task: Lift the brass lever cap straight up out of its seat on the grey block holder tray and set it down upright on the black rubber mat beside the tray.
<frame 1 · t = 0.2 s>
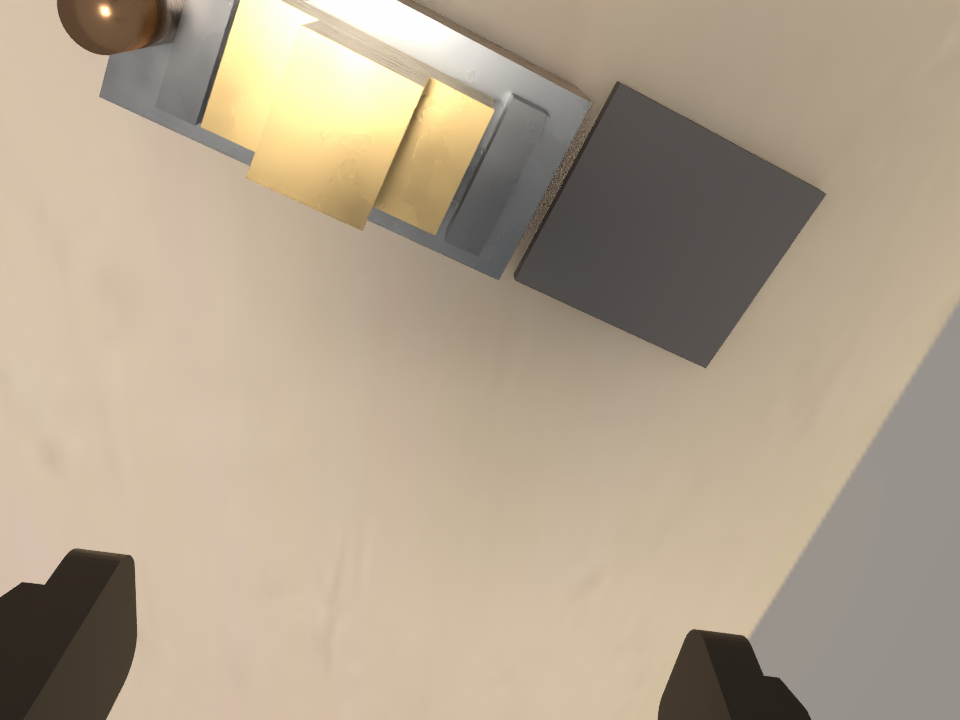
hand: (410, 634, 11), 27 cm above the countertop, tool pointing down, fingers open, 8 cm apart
grey block holder tray: (363, 84, 34), on the countertop
rubber mat: (662, 233, 37), on the countertop
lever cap: (358, 105, 29), point 5 cm above the countertop, touching grey block holder tray
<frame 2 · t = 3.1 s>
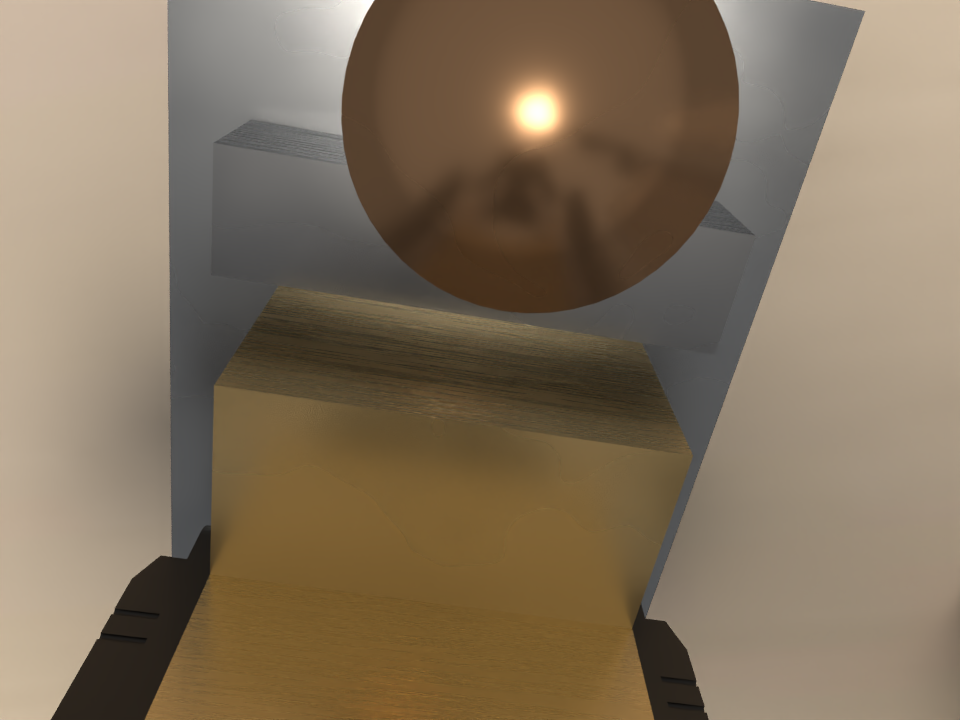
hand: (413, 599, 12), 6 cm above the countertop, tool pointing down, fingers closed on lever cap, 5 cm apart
grey block holder tray: (438, 387, 17), on the countertop
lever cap: (419, 559, 13), point 5 cm above the countertop, touching gripper, grey block holder tray
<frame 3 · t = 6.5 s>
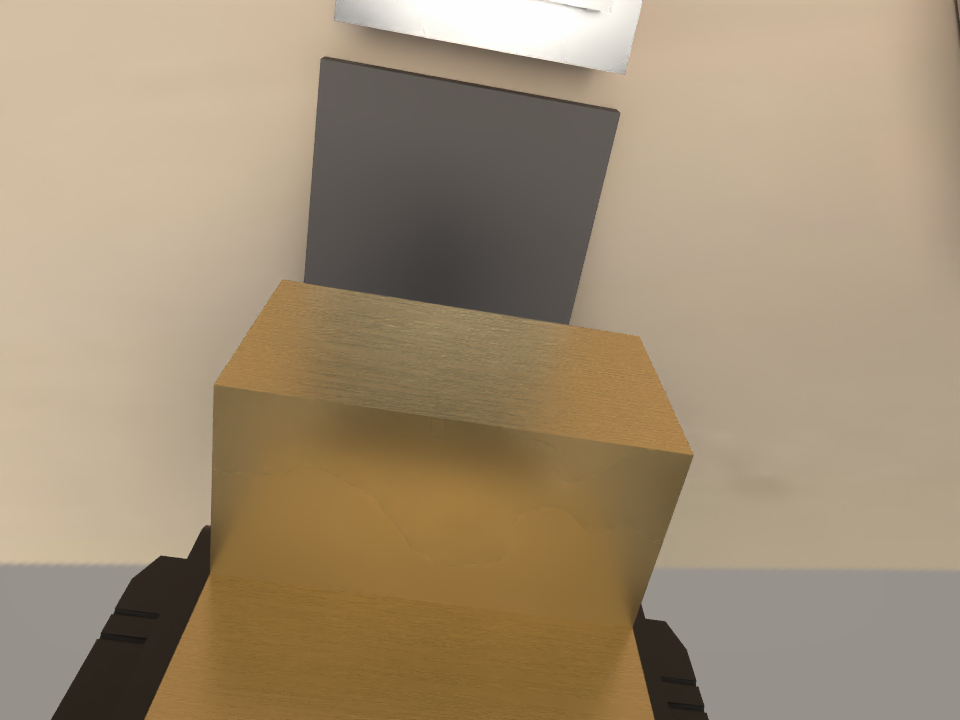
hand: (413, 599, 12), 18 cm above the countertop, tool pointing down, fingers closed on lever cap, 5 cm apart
rubber mat: (448, 238, 28), on the countertop
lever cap: (419, 558, 13), point 18 cm above the countertop, touching gripper
when the fingers open (3 cm above the countertop, at t = 10.0 s): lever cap drops 1 cm, resting on rubber mat.
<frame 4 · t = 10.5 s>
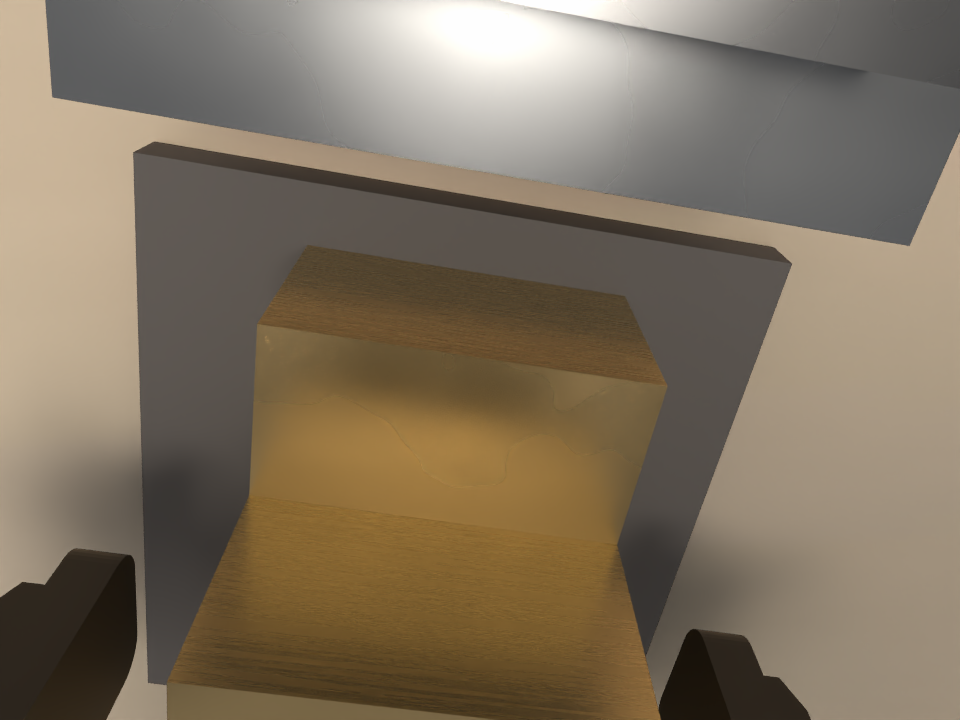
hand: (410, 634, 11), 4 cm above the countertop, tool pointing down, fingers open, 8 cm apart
rubber mat: (425, 477, 15), on the countertop
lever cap: (428, 502, 14), point 1 cm above the countertop, touching rubber mat
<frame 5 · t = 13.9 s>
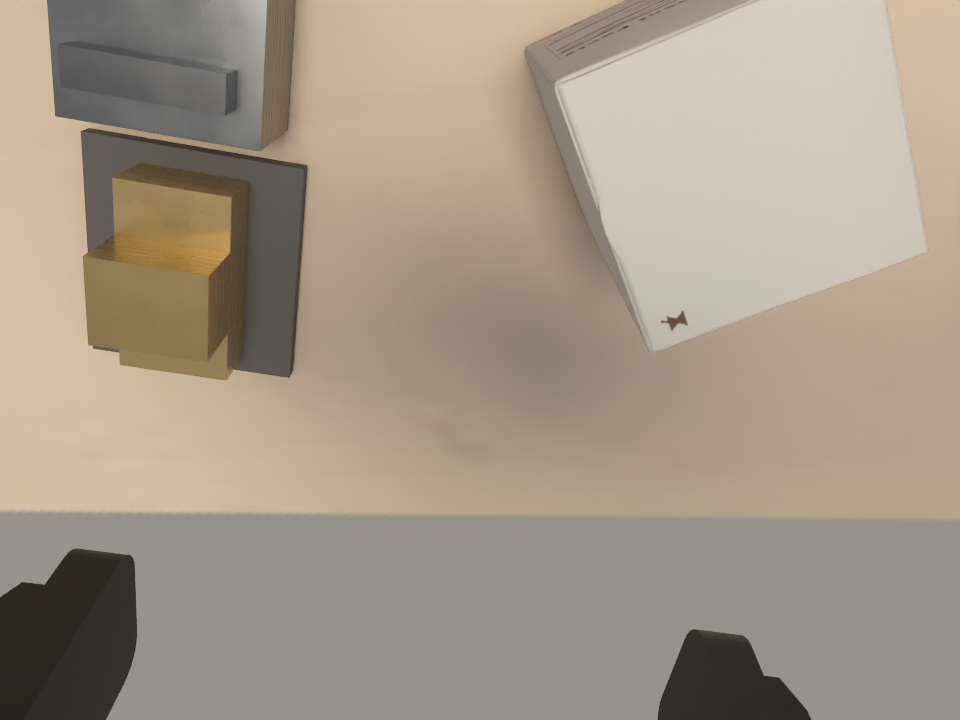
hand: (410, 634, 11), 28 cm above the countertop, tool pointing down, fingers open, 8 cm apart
rubber mat: (198, 258, 38), on the countertop
supplement box: (646, 101, 35), on the countertop
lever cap: (194, 263, 37), point 1 cm above the countertop, touching rubber mat
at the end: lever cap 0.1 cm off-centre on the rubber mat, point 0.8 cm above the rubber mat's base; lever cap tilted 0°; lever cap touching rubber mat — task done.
